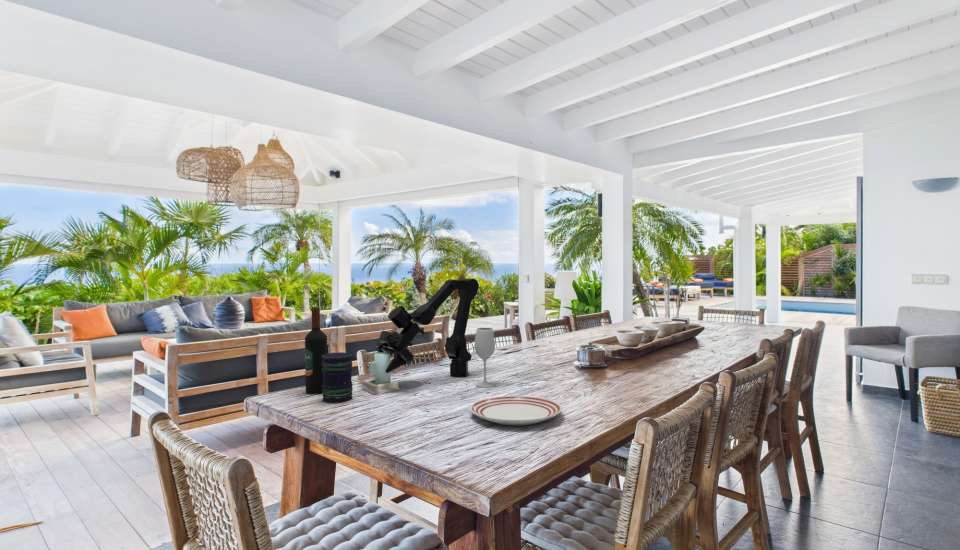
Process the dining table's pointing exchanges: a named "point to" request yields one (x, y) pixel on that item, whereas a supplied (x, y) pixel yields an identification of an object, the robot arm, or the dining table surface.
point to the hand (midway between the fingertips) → (379, 370)
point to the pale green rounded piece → (380, 368)
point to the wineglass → (484, 350)
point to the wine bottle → (314, 354)
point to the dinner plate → (515, 409)
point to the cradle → (379, 387)
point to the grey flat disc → (408, 384)
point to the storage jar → (337, 377)
